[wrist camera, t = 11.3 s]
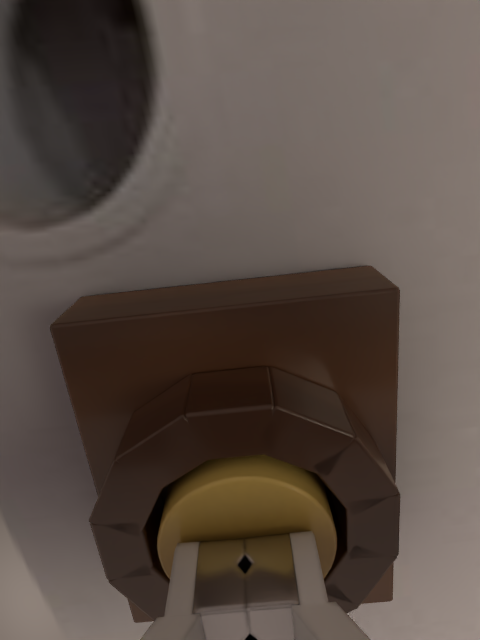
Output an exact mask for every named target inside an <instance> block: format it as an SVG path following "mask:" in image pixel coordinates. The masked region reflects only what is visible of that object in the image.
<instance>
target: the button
mask: <svg viewBox="0 0 480 640" xmlns="http://www.w3.org/2000/svg"><path fill="white" fill-rule="evenodd" d="M306 531H312V532H313V534H314V536H315V541H316V545H317V550H318V555H319V560H320V565H321V569H322V574H323V579H324V578H325V577H326V575H327V574H328V572H329V570H330V569H331V567H332V564H333V562H334V559H335V555H336V550H337V533H336V528H335V524H334V521H333V517H332V513H331V510H330V506H329V502H328V498H327V495H326V491H325V487H324V483H323V481H322V480H321V478H320V477H319V476H318V475H317V474H316V473H313V472H310V471H308V470H305V469H302V468H299V467H297V466H294V465H291V464H288V463H285V462H283V461H280V460H277V459H274V458H272V457H269V456H266V455H256V456H245V457H235V458H224V459H214V460H208V461H206V462H204V463H203V464H201V465H200V466H198V467H196V468H195V469H193V470H191V471H190V472H188V473H187V474H185V475H183V476H182V477H180V478H178V479H177V480H175V481H174V482H172V483H170V484H169V485H168V488H167V493H166V498H165V503H164V508H163V512H162V517H161V522H160V527H159V532H158V537H157V550H158V556H159V559H160V562H161V565H162V568H163V570H164V572H165V574H166V575H167V577H168V578H169V579H170V577H171V570H172V564H173V558H174V551H175V548H176V546H177V543H185V542H199V541H209V540H225V539H240V538H245V537H255V536H264V535H274V534H284V533H289V535H290V533H296V532H306Z"/></svg>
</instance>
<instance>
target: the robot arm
mask: <svg viewBox="0 0 480 640" xmlns="http://www.w3.org/2000/svg"><path fill="white" fill-rule="evenodd" d="M140 640H370V638H369V637H368V636H367V635H366V634H365V633H364V632H363V631H362V630H361V629H360V628H359V627H358V625H357V624H356V623H355V622H354V621H353V620H352V619H351V618H350V617H349V616H348V615H347V614H346V612H345V611H344V610H343V609H342V608H341V607H340V606H339V605H338V604H337V603H336V602H328V598H327V593H326V588H325V584H324V579H323V574H322V569H321V565H320V560H319V555H318V550H317V545H316V541H315V536H314V534H313V532H312V531H306V532H296V533H290V535H289V533H284V534H274V535H264V536H255V537H245V538H240V539H225V540H209V541H199V542H185V543H177V546H176V548H175V551H174V558H173V564H172V570H171V577H170V583H169V590H168V596H167V602H166V609H165V615H164V617H157V618H156V620H155V621H154V622H153V624H152V625H151V626H150V627H149V629H148V630H147V631H146V633H145V634H144V635H143V637H142V638H141V639H140Z"/></svg>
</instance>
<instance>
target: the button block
mask: <svg viewBox="0 0 480 640" xmlns="http://www.w3.org/2000/svg"><path fill="white" fill-rule="evenodd" d="M399 305H400V290H399V288H398V287H397V286H396V285H394V284H393V283H392V282H391V281H390V280H388V279H387V278H386V277H385V276H383V275H382V274H381V273H380V272H378V271H377V270H376V269H375V268H374V267H372V266H362V267H353V268H343V269H334V270H325V271H316V272H306V273H297V274H288V275H279V276H269V277H260V278H251V279H242V280H232V281H223V282H214V283H205V284H196V285H186V286H177V287H168V288H159V289H149V290H140V291H131V292H122V293H112V294H103V295H94V296H85V297H81V298H80V299H78V300H77V301H76V302H75V303H74V304H73V305H72V306H71V307H70V308H69V309H67V310H66V311H65V312H64V313H63V314H62V315H61V316H60V317H59V318H58V319H57V320H55V321H54V322H53V323H52V324H51V325H50V330H51V334H52V337H53V341H54V344H55V348H56V351H57V355H58V358H59V361H60V365H61V368H62V372H63V375H64V379H65V382H66V386H67V389H68V393H69V396H70V400H71V403H72V407H73V410H74V414H75V417H76V421H77V424H78V428H79V431H80V435H81V438H82V442H83V445H84V449H85V452H86V456H87V459H88V463H89V466H90V469H91V473H92V476H93V480H94V483H95V487H96V490H97V494H98V499H97V501H96V504H95V506H94V509H93V511H92V514H91V516H90V519H89V522H90V525H91V528H92V532H93V535H94V538H95V542H96V545H97V548H98V551H99V555H100V558H101V561H102V565H103V568H104V571H105V574H106V578H107V579H108V580H109V583H110V584H111V585H112V586H113V587H115V588H116V589H117V590H118V591H119V592H120V593H122V594H123V595H124V596H125V597H126V598H128V602H129V605H130V609H131V612H132V616H133V619H134V622H136V623H139V622H151V621H155V620H156V618H157V617H164V615H165V609H166V602H167V596H168V590H169V583H170V579H169V578H168V577H167V575H166V574H165V572H164V570H163V568H162V565H161V562H160V559H159V556H158V550H157V537H158V532H159V527H160V522H161V517H162V512H163V508H164V503H165V498H166V493H167V488H168V485H169V484H170V483H172V482H174V481H175V480H177V479H178V478H180V477H182V476H183V475H185V474H187V473H188V472H190V471H191V470H193V469H195V468H196V467H198V466H200V465H201V464H203V463H204V462H206V461H208V460H214V459H224V458H235V457H245V456H256V455H266V456H269V457H272V458H274V459H277V460H280V461H283V462H285V463H288V464H291V465H294V466H297V467H299V468H302V469H305V470H308V471H310V472H313V473H316V474H317V475H318V476H319V477H320V478H321V480H322V481H323V483H324V487H325V491H326V495H327V498H328V502H329V506H330V510H331V513H332V517H333V521H334V524H335V528H336V533H337V550H336V555H335V559H334V562H333V564H332V567H331V569H330V570H329V572H328V574H327V575H326V577H325V578H324V584H325V588H326V593H327V598H328V602H336V603H337V604H338V605H339V606H340V607H341V608H342V609H343V610H344V611H345V612H346V613H348V612H350V611H352V610H354V609H357V608H358V606H360V605H361V604H364V603H375V602H387V601H392V599H393V562H394V561H395V559H396V558H397V556H398V552H399V517H400V493H399V491H398V488H397V486H396V484H395V476H396V433H397V390H398V347H399Z"/></svg>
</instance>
